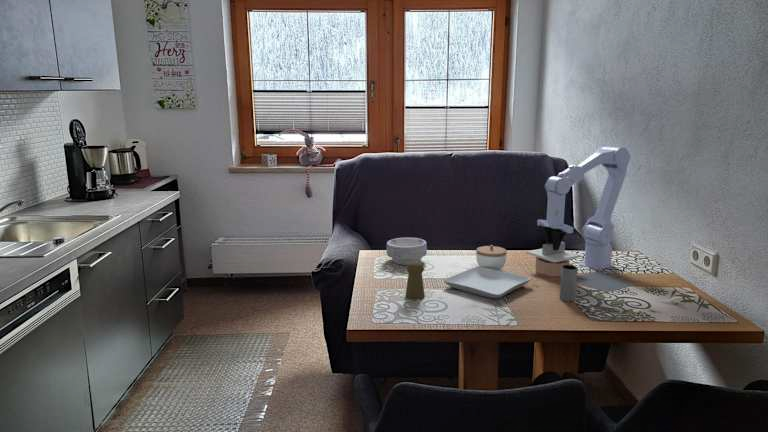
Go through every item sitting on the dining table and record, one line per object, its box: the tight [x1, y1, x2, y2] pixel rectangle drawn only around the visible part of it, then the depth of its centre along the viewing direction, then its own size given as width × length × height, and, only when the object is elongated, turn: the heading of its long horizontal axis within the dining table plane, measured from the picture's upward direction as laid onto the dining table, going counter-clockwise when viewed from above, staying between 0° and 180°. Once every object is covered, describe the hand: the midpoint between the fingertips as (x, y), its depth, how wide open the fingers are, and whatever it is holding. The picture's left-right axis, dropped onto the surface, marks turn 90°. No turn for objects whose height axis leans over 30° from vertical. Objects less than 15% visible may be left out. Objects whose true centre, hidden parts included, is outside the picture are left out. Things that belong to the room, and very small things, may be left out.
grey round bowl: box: [386, 237, 428, 266], centre depth 205 cm, size 15×15×8 cm
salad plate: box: [443, 265, 532, 299], centre depth 177 cm, size 21×21×3 cm
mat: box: [576, 270, 637, 293], centre depth 182 cm, size 16×16×1 cm
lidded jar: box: [475, 244, 508, 271], centre depth 194 cm, size 11×11×9 cm
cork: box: [404, 261, 425, 301], centre depth 168 cm, size 6×6×11 cm
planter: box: [559, 264, 578, 302], centre depth 166 cm, size 4×4×10 cm
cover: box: [526, 241, 582, 263], centre depth 191 cm, size 13×13×4 cm
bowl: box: [535, 257, 570, 277], centre depth 192 cm, size 11×11×5 cm
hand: (553, 249), depth 191 cm, fingers closed on cover, 2 cm apart
